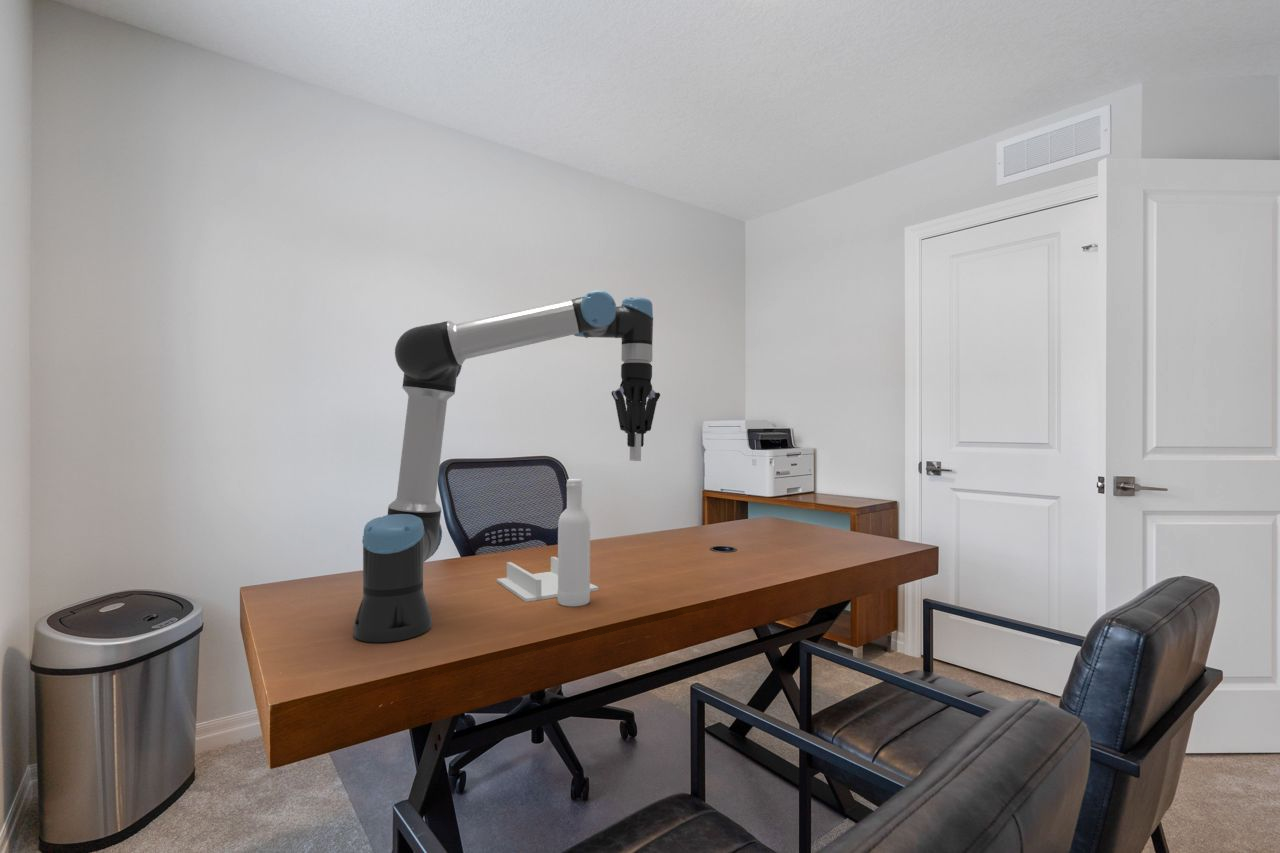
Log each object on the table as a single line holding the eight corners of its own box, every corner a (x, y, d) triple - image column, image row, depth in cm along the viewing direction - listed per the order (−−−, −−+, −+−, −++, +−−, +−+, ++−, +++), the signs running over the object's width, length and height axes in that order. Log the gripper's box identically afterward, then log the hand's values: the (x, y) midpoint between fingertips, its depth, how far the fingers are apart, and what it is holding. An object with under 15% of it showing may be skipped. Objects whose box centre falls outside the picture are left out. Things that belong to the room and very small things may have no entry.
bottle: (588, 607, 141) (588, 480, 141) (555, 606, 141) (555, 480, 141) (591, 597, 149) (592, 477, 149) (560, 597, 149) (560, 477, 149)
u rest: (598, 590, 155) (598, 571, 155) (526, 602, 145) (526, 581, 145) (563, 572, 174) (563, 555, 174) (496, 581, 163) (496, 563, 163)
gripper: (650, 366, 150) (648, 459, 150) (605, 362, 143) (604, 460, 143) (667, 363, 144) (666, 460, 144) (622, 359, 137) (620, 461, 137)
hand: (635, 460), depth 143 cm, fingers closed
